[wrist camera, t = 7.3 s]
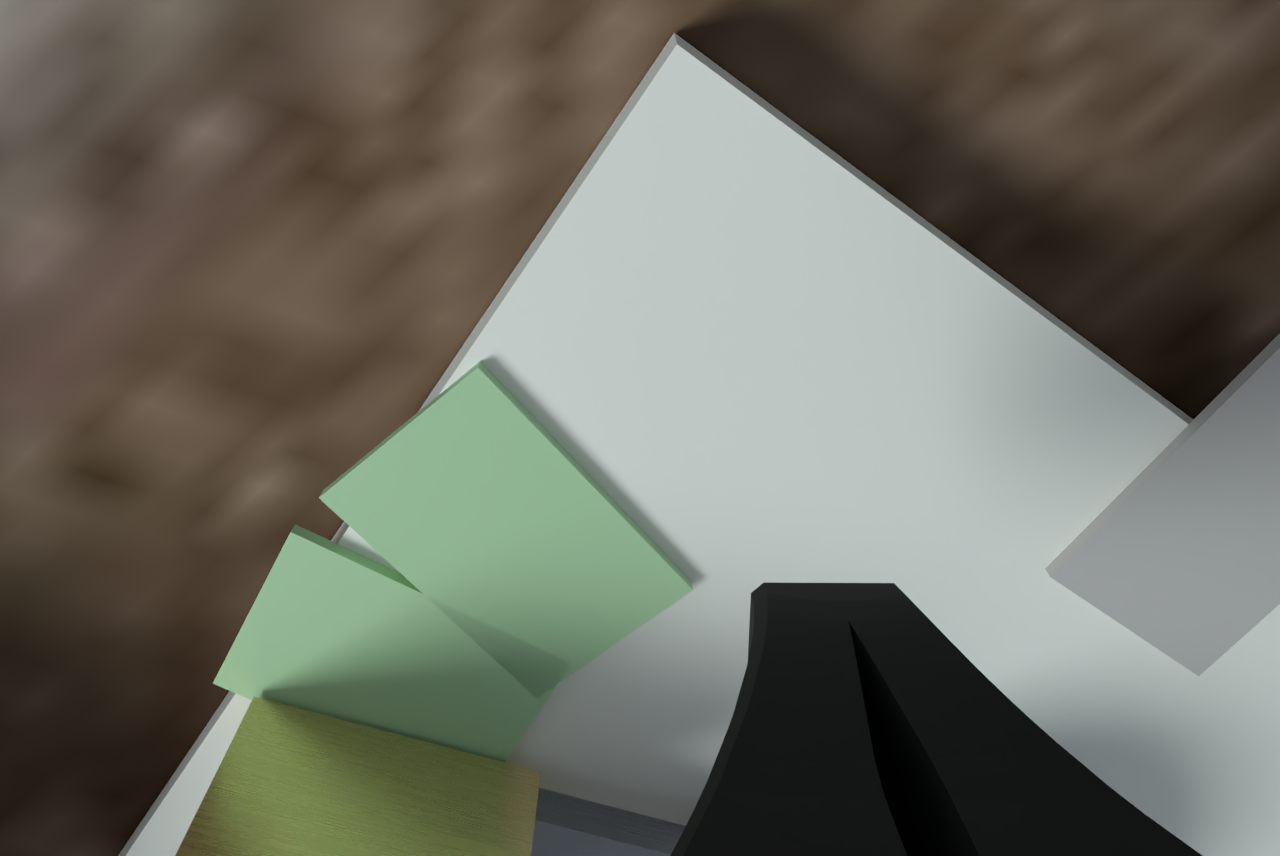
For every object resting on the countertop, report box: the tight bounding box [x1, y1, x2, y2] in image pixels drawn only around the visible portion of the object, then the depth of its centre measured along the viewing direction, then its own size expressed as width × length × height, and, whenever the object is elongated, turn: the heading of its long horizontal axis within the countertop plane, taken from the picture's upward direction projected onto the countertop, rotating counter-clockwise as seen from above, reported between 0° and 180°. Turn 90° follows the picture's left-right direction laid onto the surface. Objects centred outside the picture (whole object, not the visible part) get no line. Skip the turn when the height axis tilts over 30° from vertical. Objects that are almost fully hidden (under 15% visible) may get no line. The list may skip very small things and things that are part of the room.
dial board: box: [118, 33, 1280, 856], centre depth 17 cm, size 19×18×1 cm
